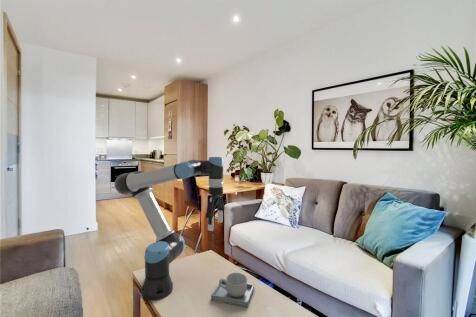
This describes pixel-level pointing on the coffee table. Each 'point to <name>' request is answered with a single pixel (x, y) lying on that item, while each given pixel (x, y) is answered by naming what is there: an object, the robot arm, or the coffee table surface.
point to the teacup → (235, 284)
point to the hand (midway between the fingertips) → (215, 226)
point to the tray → (224, 297)
